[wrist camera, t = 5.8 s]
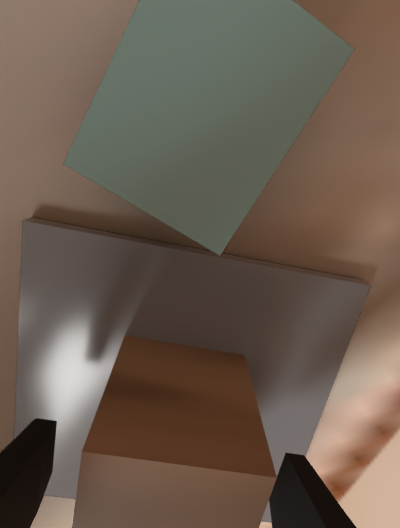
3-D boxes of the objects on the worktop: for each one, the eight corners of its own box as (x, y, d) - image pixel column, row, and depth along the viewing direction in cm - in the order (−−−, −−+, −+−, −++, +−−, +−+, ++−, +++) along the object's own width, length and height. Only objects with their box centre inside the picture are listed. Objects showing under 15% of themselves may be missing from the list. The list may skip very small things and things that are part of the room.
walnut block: (218, 447, 14) (232, 599, 9) (109, 431, 13) (65, 582, 9) (244, 355, 12) (276, 477, 8) (124, 335, 12) (81, 451, 7)
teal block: (210, 222, 12) (219, 255, 8) (107, 160, 11) (63, 163, 7) (294, 87, 10) (354, 49, 7) (184, 6, 10) (180, -89, 6)
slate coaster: (276, 510, 16) (279, 523, 15) (18, 478, 15) (11, 491, 14) (362, 279, 12) (370, 285, 12) (31, 217, 11) (22, 220, 11)
